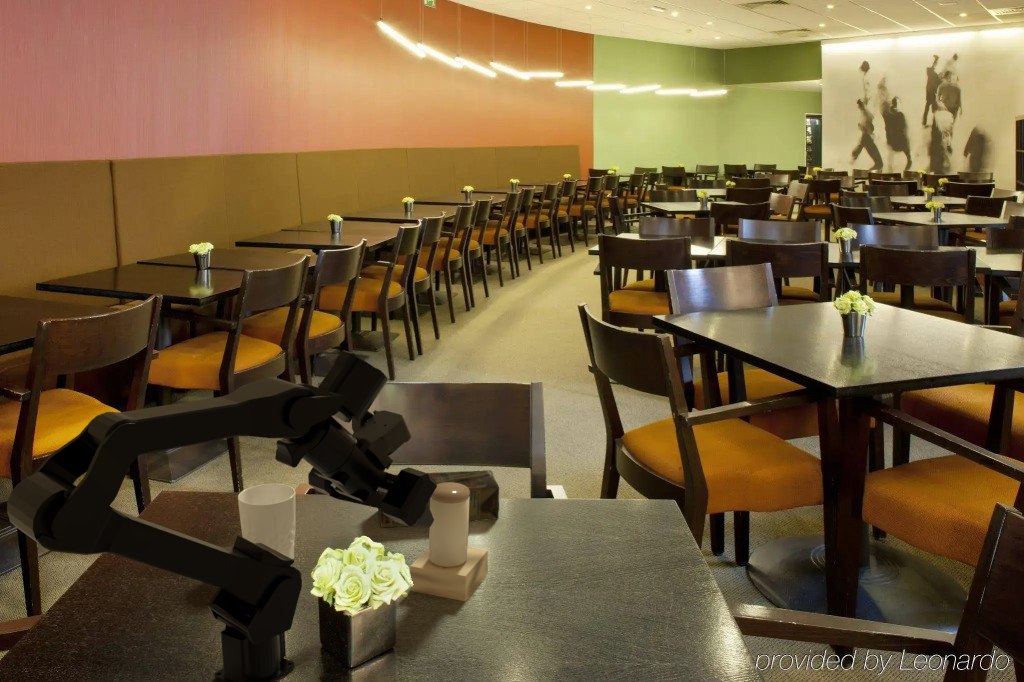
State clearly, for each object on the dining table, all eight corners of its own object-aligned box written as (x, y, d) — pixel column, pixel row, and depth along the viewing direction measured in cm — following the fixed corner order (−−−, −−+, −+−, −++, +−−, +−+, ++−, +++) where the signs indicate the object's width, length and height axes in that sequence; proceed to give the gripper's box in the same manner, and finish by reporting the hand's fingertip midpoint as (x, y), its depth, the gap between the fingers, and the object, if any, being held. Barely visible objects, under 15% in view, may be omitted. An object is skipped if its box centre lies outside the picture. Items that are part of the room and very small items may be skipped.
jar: (443, 572, 118) (445, 502, 116) (421, 556, 122) (422, 488, 120) (474, 561, 122) (477, 493, 119) (452, 545, 125) (454, 479, 123)
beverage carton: (500, 521, 144) (501, 482, 142) (379, 531, 140) (378, 491, 138) (491, 502, 151) (491, 465, 150) (376, 510, 147) (375, 472, 146)
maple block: (465, 604, 118) (465, 576, 117) (410, 593, 121) (410, 566, 120) (487, 576, 126) (487, 550, 125) (435, 567, 128) (435, 541, 127)
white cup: (283, 574, 125) (280, 507, 123) (231, 568, 127) (227, 502, 125) (307, 549, 133) (304, 485, 131) (257, 544, 134) (254, 481, 132)
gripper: (423, 409, 103) (489, 477, 113) (323, 383, 115) (391, 446, 125) (371, 493, 98) (445, 555, 109) (273, 457, 110) (348, 516, 121)
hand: (406, 514), depth 116 cm, fingers open, 9 cm apart
